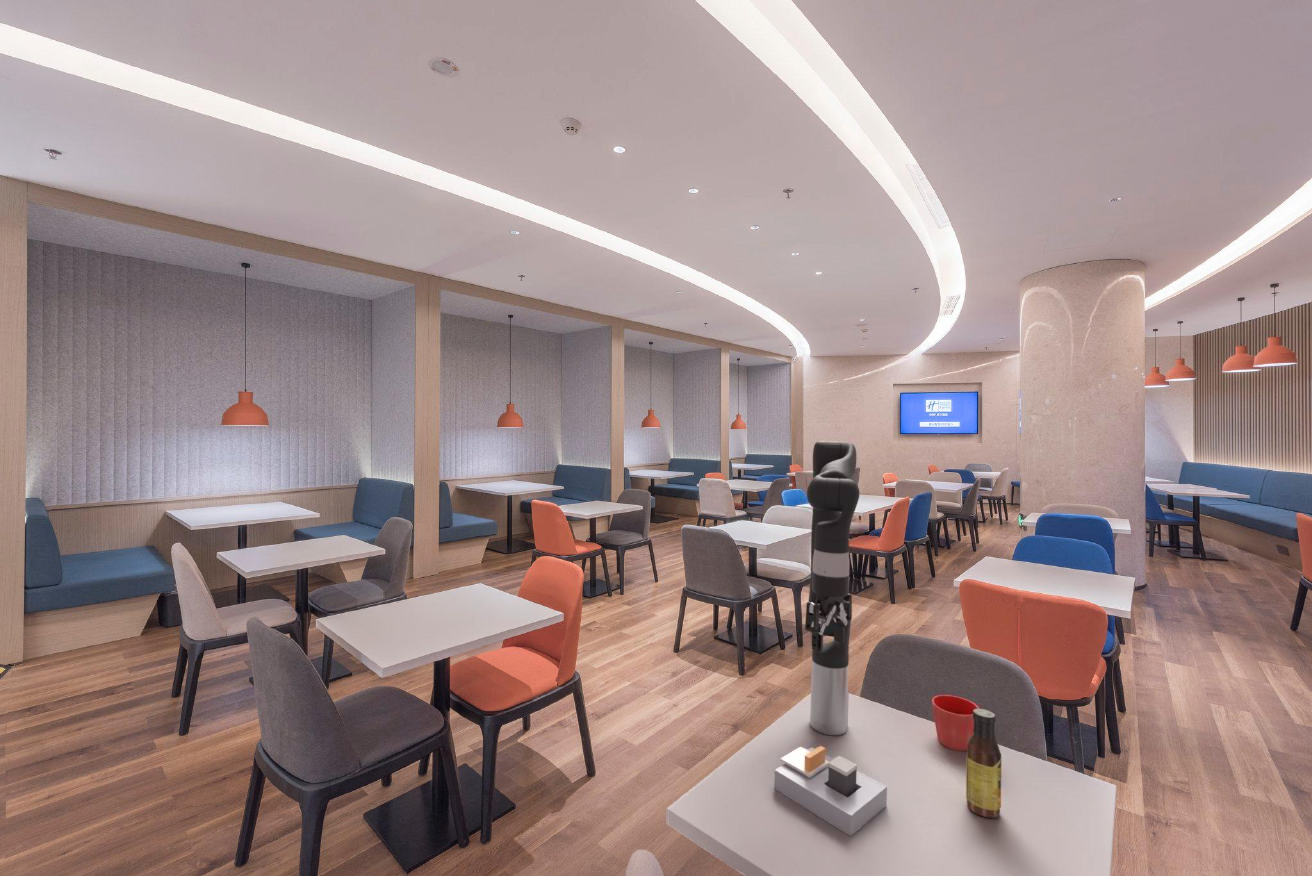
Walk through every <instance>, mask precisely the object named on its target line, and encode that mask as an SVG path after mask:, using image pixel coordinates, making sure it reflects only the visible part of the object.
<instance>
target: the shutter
mask: <svg viewBox="0 0 1312 876" xmlns="http://www.w3.org/2000/svg"><path fill="white" fill-rule="evenodd" d="M814 749H815V750H813V751H811V752H810V751H808V750H809V749H807V748H804V747H802V746H800V747H797V748H795V749H794V750H793V751H792V750H791V752H789V753H787V754H785V755H784V756H782V757H780V762H781V763H783V764H787V765H788V766H790V767H792V768H793V769H795V770H797V771H799V772H800V773H802V774H804V775H806V776H807V777H809V778H810V777H812V776H813V775H815V774H816V773H818V772H819V771H821V770H822V769H824V768H825V767H827V766H828V764H829V761H827V760H825V754H826V747H824V746H822V745H820V746H818V747H816V748H814Z"/></svg>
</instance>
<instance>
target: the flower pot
mask: <svg viewBox="0 0 1312 876" xmlns="http://www.w3.org/2000/svg"><path fill="white" fill-rule="evenodd" d="M931 700H932V701H931V704H932V713H933V718H934V724H935V730H936V731H935V732H936V737H937V740H938V742H939V743H940V744H941V745H943V746H944V747H946V748H949V749H952V750H954V751H959V752H960V751H961V752H963V751H966V752H967V742H968V739H969V738H970V736H971V735H972V734H973V732H974V731H973V728H974V719H973V710H974V709H980V707H979V705H978V704H976V703H975V702H972V701H971V700H968V699H965V698H963V697H960V696H955V695H951V694H950V695H949V694H939V695H936V696H933V697H932V699H931Z"/></svg>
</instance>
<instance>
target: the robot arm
mask: <svg viewBox="0 0 1312 876" xmlns="http://www.w3.org/2000/svg"><path fill="white" fill-rule="evenodd" d="M857 458H858V457H857V449H856V447H855V445H854V443H852V442H849V441H844V440H843V441H842V440H841V441H836V440H830V441H829V440H818V441H816V442H815V443H814V445H813V450H812V479H811V481H810V482H809V484H808V487H807V491H806V499H807V502H808V504H809V506H811V508H812V517H811V518H812V519H811V533H810V534H811V539H810V580H809V581H810V582H809V591H808V592H809V593H808V601H807V602H806V608H805V609H806V610H805V624H804V625H805V626H804V630H805V631H807V632H809V633H811V649H812V651H811V652H812V653H811V680H810V681H811V682H810V688H811V689H810V714H809V718H810V719H809V723H810V726H811V728H813V730H815V731H816V732H819V733H821V734H824V735H827V736H840V735H843V734H845V733H846V732H847V728H848V727H847V726H849V698H850V696H849V695H850V693H849V692H850V690H849V665H850V664H849V663H850V662H849V660H850V658H849V657H850V655H849V652H850V650H849V648H850V634H851V627H852V626H851V623H852V620H853V600H852V599H853V598H852V597H853V596H852V594H851V593H849V590H850V588H849V587H850V555H849V551H850V550H849V549H850V530H851V526H852V525H851V523H852V521H853V517H854V514H855V511H856V509H857V506H858V503H859V500H860V488H859V485H858V484H857V482H856V481H854V480H852V479H851V478H852V477H853V475H854V474H855V471H856V468H857V460H858V459H857ZM824 636H825V637H830V638H832V637H833V640H832V641H831V640H830V641H829V642H826V643H824Z"/></svg>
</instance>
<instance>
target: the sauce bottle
mask: <svg viewBox="0 0 1312 876" xmlns="http://www.w3.org/2000/svg"><path fill="white" fill-rule="evenodd" d="M973 719H974V728H973V731H974V732H973V734H972V735H971V736H970V738H969V739H968V742H967V751H966V758H965V759H966V767H965V768H966V771H965V772H966V774H965V775H966V776H965V778H966V779H965V781H966V782H965V788H966V789H965V799H966V804H967V807H968V808H969V809H970V811H971V812H973V813H974V814H976V815H978V816H980V817H983V818H989V819H995V818H998V817H999V816H1000V813H1001V807H1002V762H1003V761H1002V753H1001V750H1000V746H999V743H998V742H997V738H996V733H995V728H996V727H995V724H996V722H997V721H996V719H997V718H996V715H995V713H994V712H992V711H990V710H987V709H984V708H979V709H974V710H973Z"/></svg>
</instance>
